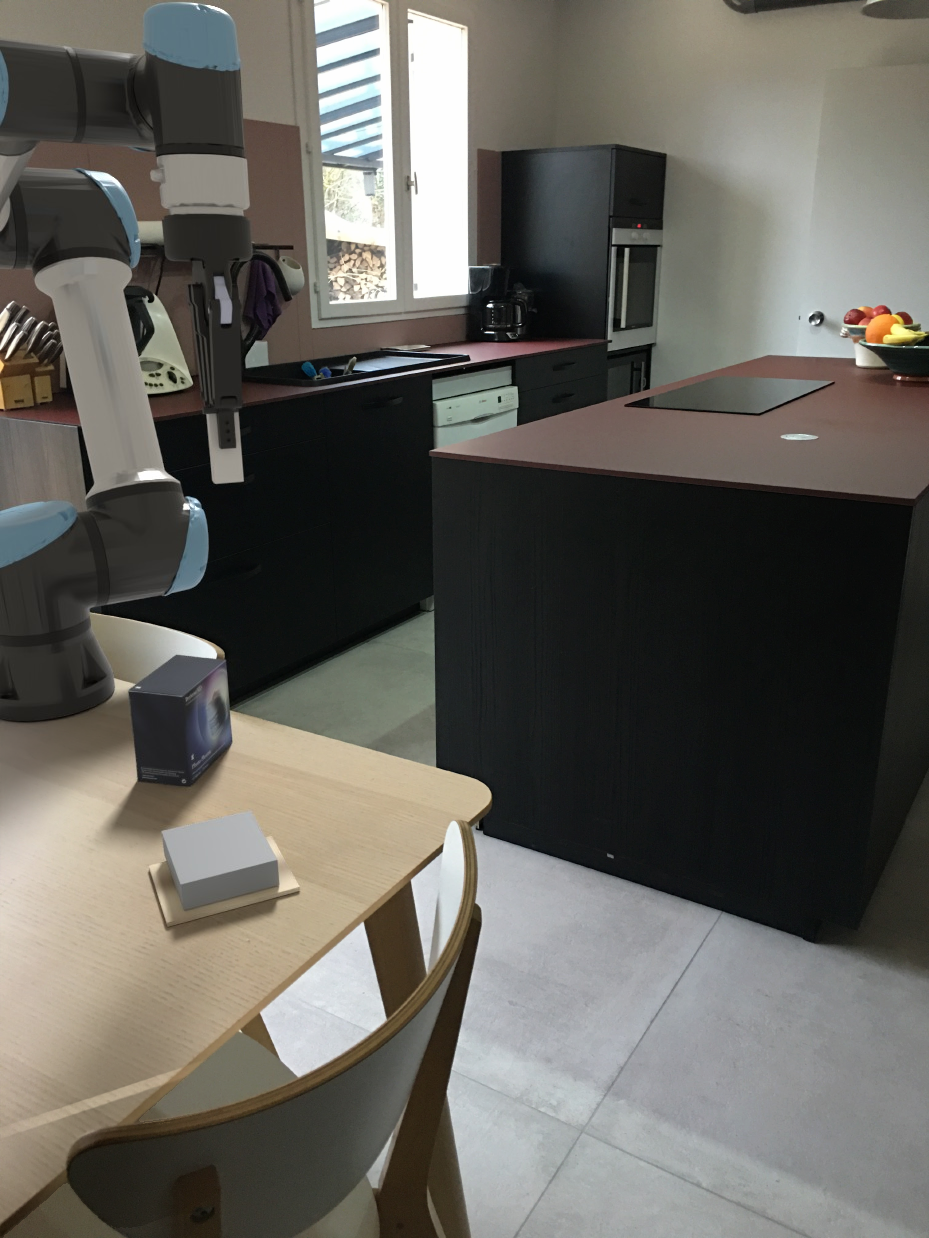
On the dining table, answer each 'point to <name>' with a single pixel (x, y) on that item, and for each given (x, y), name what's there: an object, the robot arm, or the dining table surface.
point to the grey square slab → (219, 859)
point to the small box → (180, 720)
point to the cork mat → (178, 915)
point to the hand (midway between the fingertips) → (227, 481)
